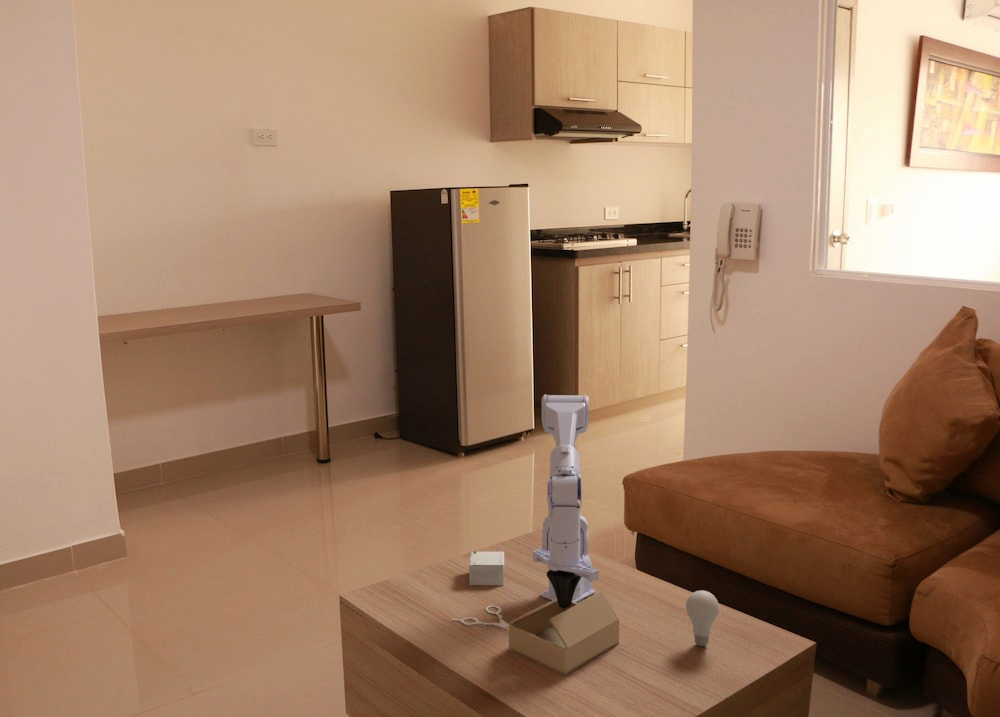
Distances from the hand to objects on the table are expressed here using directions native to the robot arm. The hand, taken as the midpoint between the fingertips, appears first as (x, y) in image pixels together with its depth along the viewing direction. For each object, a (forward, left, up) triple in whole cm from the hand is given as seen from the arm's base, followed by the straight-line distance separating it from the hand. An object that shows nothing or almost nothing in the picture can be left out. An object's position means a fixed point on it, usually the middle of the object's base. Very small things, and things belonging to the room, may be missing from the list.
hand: (564, 606), depth 170 cm
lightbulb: (-18, +19, -9) cm, 27 cm away
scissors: (+2, -14, -9) cm, 17 cm away
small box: (-12, -33, -9) cm, 36 cm away
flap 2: (0, +5, -1) cm, 5 cm away
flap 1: (0, -5, -2) cm, 5 cm away
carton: (0, 0, -8) cm, 8 cm away
